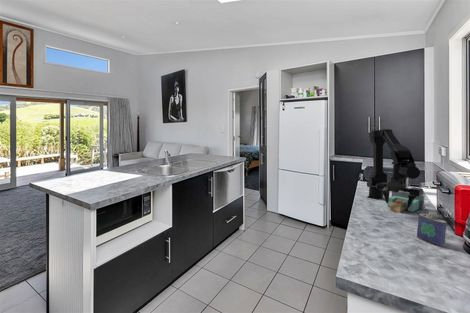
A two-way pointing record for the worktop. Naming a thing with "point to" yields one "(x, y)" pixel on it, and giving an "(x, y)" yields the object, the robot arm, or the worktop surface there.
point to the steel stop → (405, 195)
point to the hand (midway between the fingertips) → (397, 205)
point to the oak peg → (398, 206)
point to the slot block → (412, 207)
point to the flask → (431, 229)
